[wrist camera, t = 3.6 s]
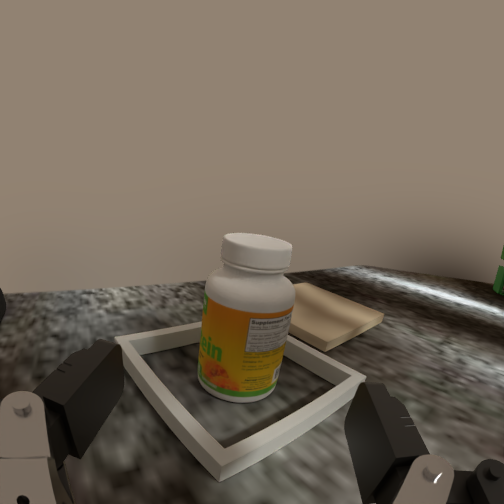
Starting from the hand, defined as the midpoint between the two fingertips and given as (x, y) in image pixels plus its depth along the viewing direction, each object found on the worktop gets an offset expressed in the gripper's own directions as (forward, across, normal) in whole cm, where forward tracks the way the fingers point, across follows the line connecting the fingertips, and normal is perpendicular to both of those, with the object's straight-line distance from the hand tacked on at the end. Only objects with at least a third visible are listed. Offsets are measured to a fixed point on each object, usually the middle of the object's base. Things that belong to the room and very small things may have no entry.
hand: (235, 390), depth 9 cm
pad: (+24, -7, +6) cm, 25 cm away
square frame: (+9, 0, +6) cm, 11 cm away
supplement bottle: (+9, 0, +7) cm, 12 cm away
